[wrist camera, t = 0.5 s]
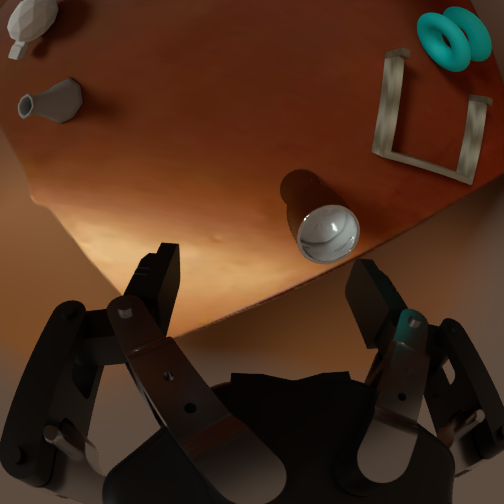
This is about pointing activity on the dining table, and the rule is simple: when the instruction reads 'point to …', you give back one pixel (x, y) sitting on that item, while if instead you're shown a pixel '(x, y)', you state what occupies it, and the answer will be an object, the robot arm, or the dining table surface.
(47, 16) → the perfume bottle
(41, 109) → the flask
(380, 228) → the dining table surface
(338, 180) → the dining table surface
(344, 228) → the beer glass
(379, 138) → the box
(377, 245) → the dining table surface
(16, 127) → the dining table surface
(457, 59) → the teal diabolo
